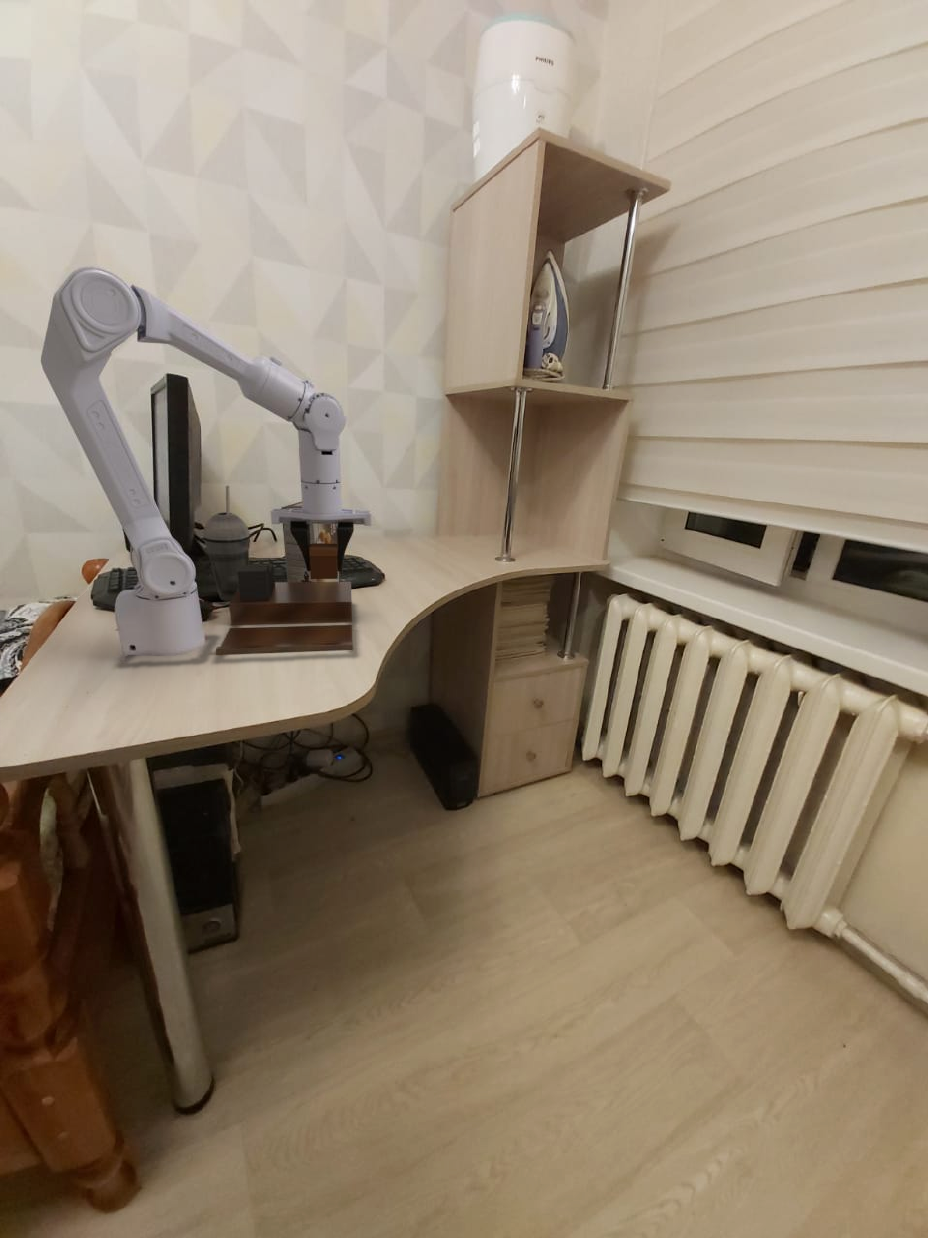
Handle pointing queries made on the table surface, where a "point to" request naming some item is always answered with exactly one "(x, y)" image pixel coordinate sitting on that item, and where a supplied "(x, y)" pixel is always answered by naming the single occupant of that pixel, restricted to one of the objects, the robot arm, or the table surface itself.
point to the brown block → (323, 560)
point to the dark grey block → (256, 582)
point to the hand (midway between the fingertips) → (325, 569)
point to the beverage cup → (227, 549)
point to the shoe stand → (292, 620)
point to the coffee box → (294, 554)
